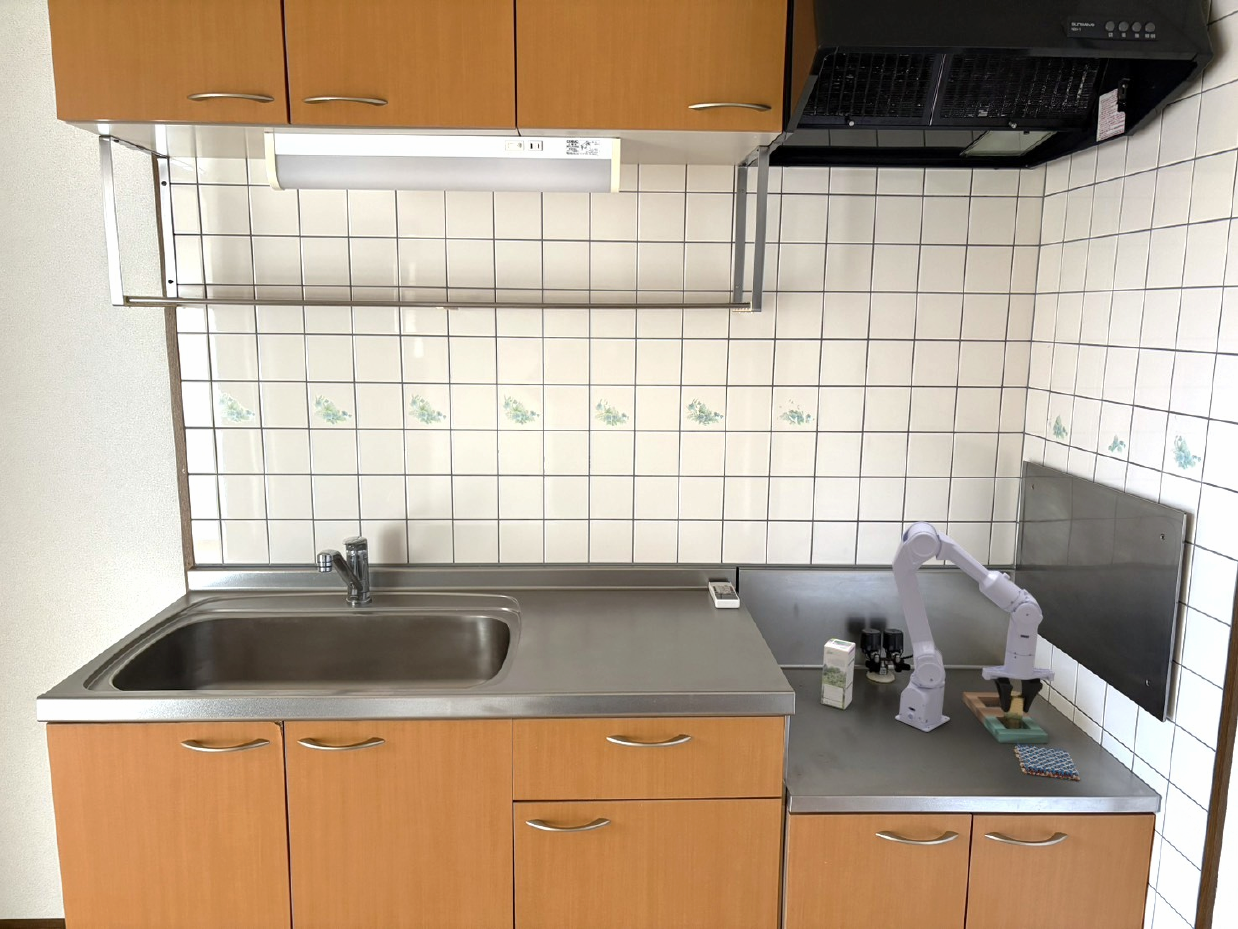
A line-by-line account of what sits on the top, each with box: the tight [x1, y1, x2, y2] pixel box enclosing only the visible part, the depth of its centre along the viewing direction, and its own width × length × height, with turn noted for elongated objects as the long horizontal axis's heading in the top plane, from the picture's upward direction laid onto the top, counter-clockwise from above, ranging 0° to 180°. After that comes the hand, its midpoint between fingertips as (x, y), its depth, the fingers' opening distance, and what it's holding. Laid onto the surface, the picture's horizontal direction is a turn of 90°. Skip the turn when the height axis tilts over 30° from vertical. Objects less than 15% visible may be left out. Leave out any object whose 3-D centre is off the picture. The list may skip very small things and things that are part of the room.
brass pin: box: [1002, 690, 1025, 729], centre depth 184 cm, size 4×4×7 cm
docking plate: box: [961, 691, 1048, 744], centre depth 189 cm, size 20×10×2 cm, turn 0°
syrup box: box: [820, 638, 856, 710], centre depth 195 cm, size 6×6×14 cm
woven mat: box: [1013, 743, 1081, 781], centre depth 171 cm, size 10×11×2 cm
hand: (1014, 710), depth 183 cm, fingers closed on brass pin, 4 cm apart
